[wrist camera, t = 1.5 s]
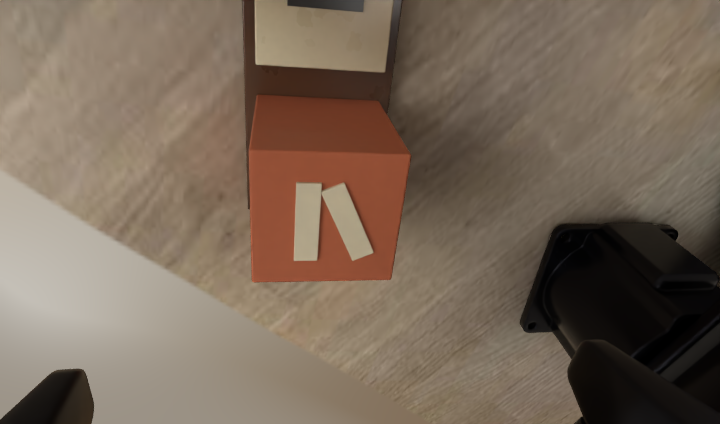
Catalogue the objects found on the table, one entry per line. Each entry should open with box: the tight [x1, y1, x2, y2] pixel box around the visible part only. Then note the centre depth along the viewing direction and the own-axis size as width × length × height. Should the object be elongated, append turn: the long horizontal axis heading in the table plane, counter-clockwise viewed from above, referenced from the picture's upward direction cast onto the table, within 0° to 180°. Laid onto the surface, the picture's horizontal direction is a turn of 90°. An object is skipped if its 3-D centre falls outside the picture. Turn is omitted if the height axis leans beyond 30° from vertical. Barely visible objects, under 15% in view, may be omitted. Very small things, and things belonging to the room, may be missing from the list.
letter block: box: [249, 95, 411, 282], centre depth 16 cm, size 4×4×5 cm
